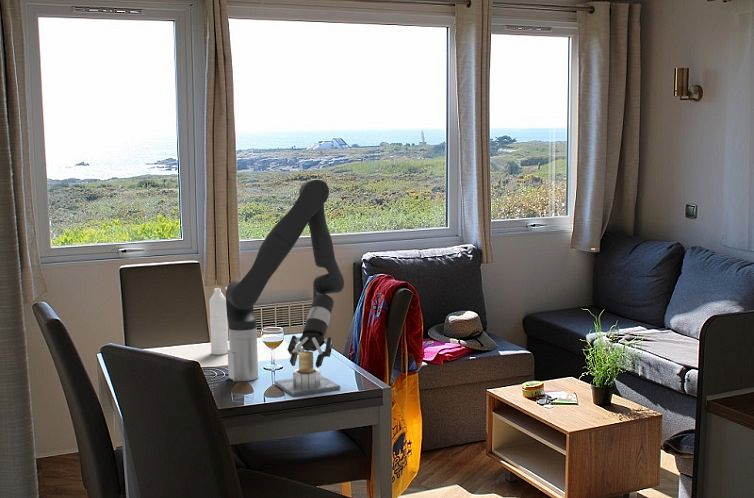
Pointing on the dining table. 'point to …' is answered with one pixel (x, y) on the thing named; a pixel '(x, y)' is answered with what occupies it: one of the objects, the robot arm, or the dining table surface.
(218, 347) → the water bottle
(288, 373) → the dining table surface
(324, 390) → the socket board
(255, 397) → the dining table surface
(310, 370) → the plug
